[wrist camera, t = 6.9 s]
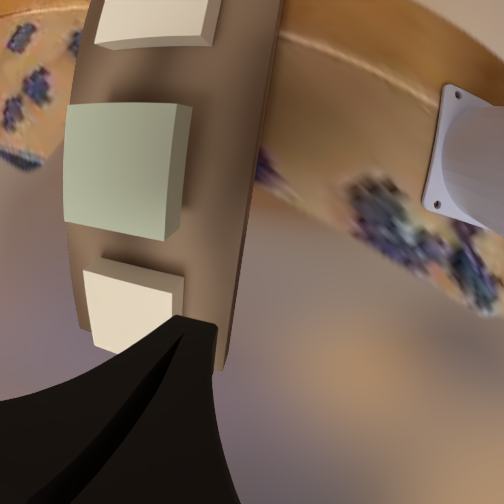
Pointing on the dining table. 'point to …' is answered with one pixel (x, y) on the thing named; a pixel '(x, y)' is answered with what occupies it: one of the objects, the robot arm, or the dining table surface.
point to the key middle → (126, 166)
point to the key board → (189, 153)
